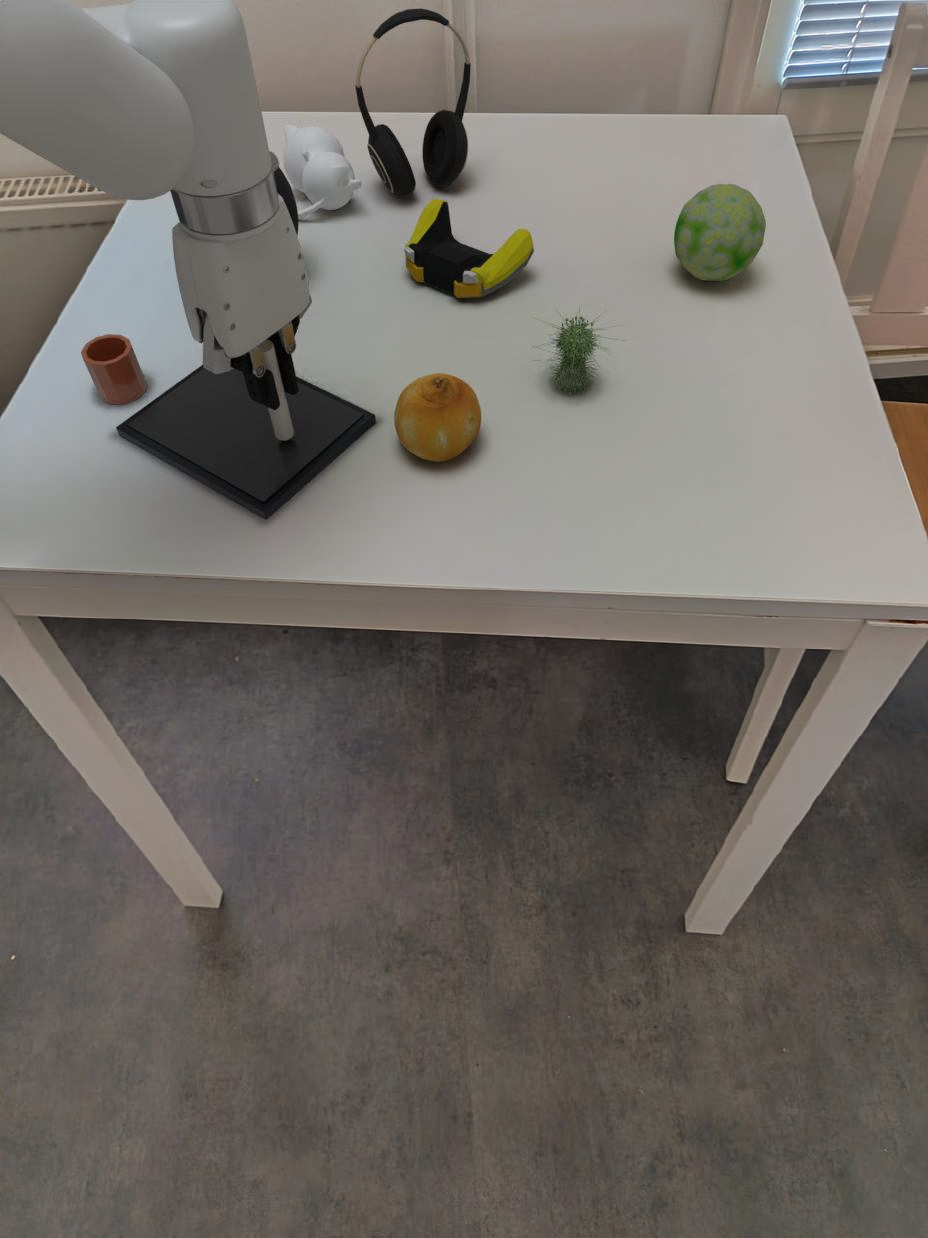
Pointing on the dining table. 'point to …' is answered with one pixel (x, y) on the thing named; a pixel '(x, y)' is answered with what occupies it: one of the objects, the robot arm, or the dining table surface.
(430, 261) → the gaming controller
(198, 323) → the robot arm
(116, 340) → the pen cup
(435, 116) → the headphones
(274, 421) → the stylus
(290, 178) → the cat figurine
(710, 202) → the decorative ball
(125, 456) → the dining table surface
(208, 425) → the tablet
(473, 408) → the fruit
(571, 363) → the small spiny cactus
